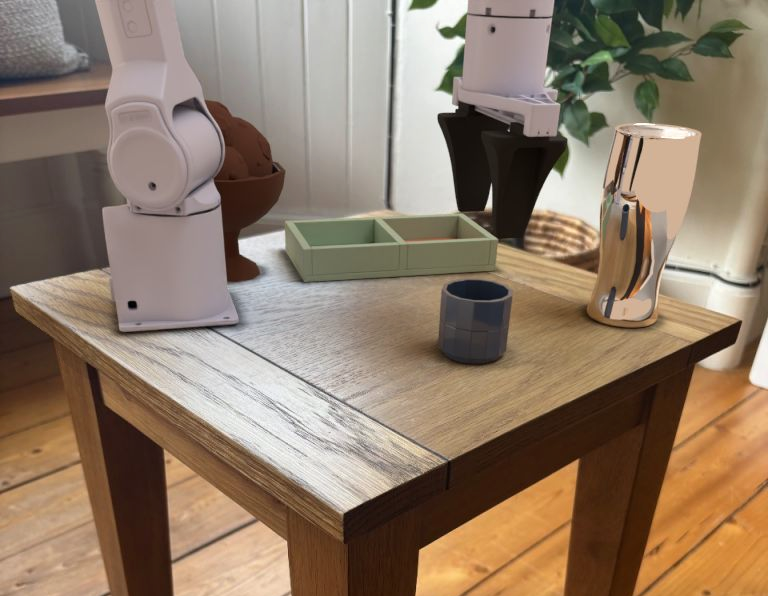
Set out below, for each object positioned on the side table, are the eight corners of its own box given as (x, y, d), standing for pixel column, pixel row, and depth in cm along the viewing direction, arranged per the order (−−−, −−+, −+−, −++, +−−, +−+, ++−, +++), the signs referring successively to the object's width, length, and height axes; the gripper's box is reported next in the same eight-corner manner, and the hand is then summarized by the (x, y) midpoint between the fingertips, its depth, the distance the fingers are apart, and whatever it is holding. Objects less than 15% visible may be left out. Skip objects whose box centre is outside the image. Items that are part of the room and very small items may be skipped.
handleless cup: (451, 368, 61) (456, 304, 58) (428, 341, 65) (432, 280, 63) (516, 363, 62) (524, 299, 60) (490, 336, 67) (496, 276, 64)
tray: (304, 282, 77) (303, 249, 75) (285, 251, 85) (284, 220, 83) (495, 270, 81) (498, 239, 80) (460, 242, 89) (462, 213, 88)
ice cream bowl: (232, 299, 72) (217, 113, 64) (149, 273, 78) (126, 98, 69) (311, 272, 79) (308, 101, 71) (231, 249, 85) (218, 88, 76)
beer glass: (666, 333, 68) (711, 140, 60) (582, 325, 69) (615, 134, 61) (657, 305, 74) (697, 125, 66) (580, 298, 75) (610, 120, 67)
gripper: (616, 24, 50) (580, 247, 58) (520, 11, 61) (500, 198, 69) (510, 22, 48) (487, 252, 56) (431, 9, 60) (421, 201, 67)
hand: (488, 223), depth 62 cm, fingers open, 7 cm apart
